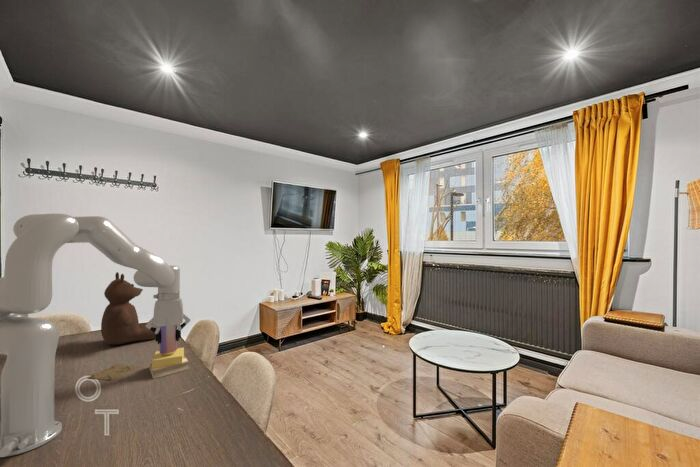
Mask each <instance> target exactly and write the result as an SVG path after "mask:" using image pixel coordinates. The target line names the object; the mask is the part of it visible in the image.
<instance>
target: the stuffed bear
mask: <svg viewBox="0 0 700 467" xmlns="http://www.w3.org/2000/svg"><path fill="white" fill-rule="evenodd" d="M114 277H115V279H114V280H112V281H110V283H109V284H108V286H107V287H106V288H105V290H104V297H105V299H106V300H107V301H108V302H109V304H108V305H106V307H105V309H104V311H103V314H102V318H101V322H100V323H101V324H100V327H101V328H100V333H101V336H102V339H103V340H104V341H105V342H106V343H107V344H109V345H116V346H117V345H118V346H119V345H124V344H128V343H134V342H135V343H136V342H143V341H150V340H156V334H155V333H154V332H153V331H151V330H150V329H148V328H147V327H146V324H147V323H148V322H141V323H140V321H139V316H138V312H137V309H136V307H135V305H134V304H132V303H131V302H130V301H132V300H133V299H135V298H136V297H139V296H140V295H141V294H142V292H143V290H144V289H143V288H139V287H135V285H134V284H133V283H130V282H129V281H127V280H125V274H124V273H121V274H120V273H119V272H117V271H116V273H115V276H114ZM159 331H160V330H159Z"/></svg>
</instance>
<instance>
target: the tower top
mask: <svg viewBox="0 0 700 467" xmlns="http://www.w3.org/2000/svg"><path fill="white" fill-rule="evenodd" d="M183 356H185V347H179V348H178V347H177V350H176V352H174V353H172V354H168V355H162V354H160V350H156V351H155V353H154V355H153V358H152V359H151V360H152V368H159V367H165V366H171V365H177V364H182V362H183Z"/></svg>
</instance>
